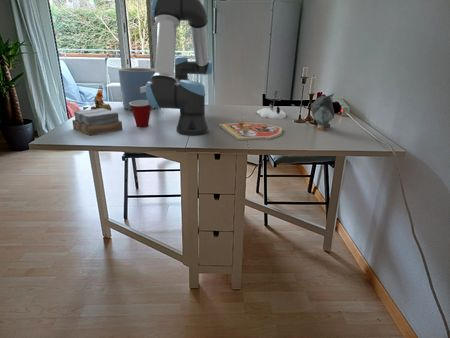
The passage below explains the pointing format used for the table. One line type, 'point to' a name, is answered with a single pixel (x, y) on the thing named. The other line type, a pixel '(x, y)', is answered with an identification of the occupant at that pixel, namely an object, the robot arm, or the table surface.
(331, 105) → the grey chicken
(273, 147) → the table surface
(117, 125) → the stack of books
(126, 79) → the planter
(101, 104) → the orange brown statuette
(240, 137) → the knob puzzle
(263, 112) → the figurine
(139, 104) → the plastic cup
